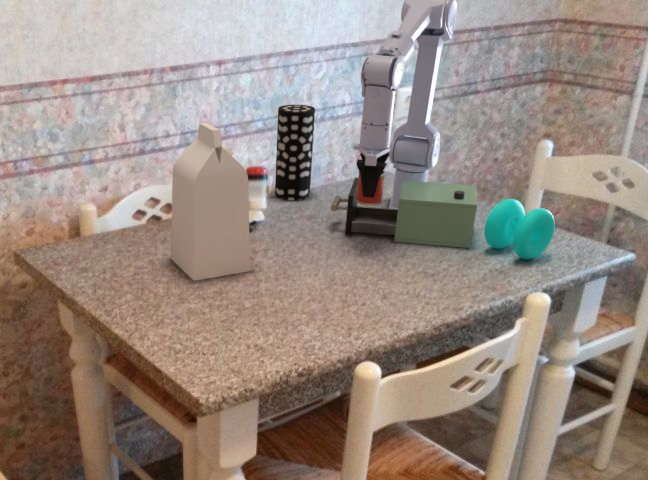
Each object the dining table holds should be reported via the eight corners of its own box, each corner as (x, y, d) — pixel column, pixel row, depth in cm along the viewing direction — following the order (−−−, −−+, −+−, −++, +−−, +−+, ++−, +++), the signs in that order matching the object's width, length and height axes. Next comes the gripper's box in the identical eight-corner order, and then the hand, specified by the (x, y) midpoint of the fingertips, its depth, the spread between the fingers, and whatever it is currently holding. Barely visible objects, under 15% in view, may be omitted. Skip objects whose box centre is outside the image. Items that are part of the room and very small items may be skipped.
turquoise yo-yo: (510, 240, 167) (519, 193, 162) (551, 255, 160) (562, 206, 155) (477, 250, 163) (485, 201, 157) (518, 266, 155) (528, 215, 150)
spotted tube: (273, 199, 191) (276, 111, 181) (276, 189, 198) (279, 104, 188) (308, 201, 190) (314, 113, 179) (310, 190, 197) (316, 105, 187)
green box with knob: (397, 221, 178) (403, 174, 173) (469, 227, 174) (477, 180, 169) (394, 241, 167) (399, 193, 162) (469, 248, 164) (478, 198, 158)
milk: (170, 258, 159) (166, 122, 146) (224, 249, 163) (225, 116, 150) (193, 280, 150) (192, 137, 137) (250, 271, 154) (253, 130, 140)
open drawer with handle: (334, 213, 181) (337, 176, 176) (420, 220, 176) (425, 182, 172) (327, 233, 170) (330, 194, 165) (417, 241, 166) (423, 201, 161)
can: (357, 196, 165) (360, 167, 162) (382, 198, 164) (385, 169, 161) (354, 204, 161) (357, 174, 158) (380, 206, 160) (384, 176, 157)
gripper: (359, 113, 162) (353, 180, 169) (351, 130, 150) (345, 201, 157) (395, 115, 160) (388, 183, 167) (390, 132, 148) (382, 204, 155)
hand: (369, 192), depth 162 cm, fingers closed on can, 5 cm apart
